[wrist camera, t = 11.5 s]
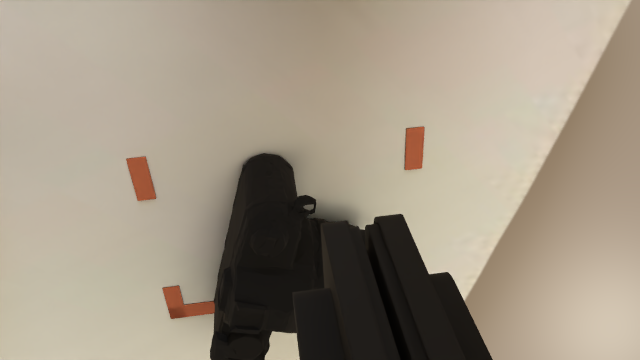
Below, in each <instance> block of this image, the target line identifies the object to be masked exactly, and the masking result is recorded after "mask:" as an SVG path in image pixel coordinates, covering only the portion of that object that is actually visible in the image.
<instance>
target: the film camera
mask: <svg viewBox="0 0 640 360" xmlns="http://www.w3.org/2000/svg"><path fill="white" fill-rule="evenodd" d="M310 204H314V209H313V210H311V211H309V210H306V209H304V208H303V206H304V205H310ZM315 208H316V199H314V198H312V197H310V196H307V195H304V196H299V197H298V198H297V192H296V186H295V179H294V172H293V169H292V167H291V165H290V164H289V163H288V162H287V161H286V160H284V159H283V158H282V157H280V156H277V155H270V154H261V155H257V156H255V157H253V158H251V159H250V160H249V161H248V162H247V163H246V164H245V165H243V168H242V172H241V175H240V178H239V182H238V187H237V192H236V196H235V200H234V204H233V210H232V215H231V219H230V224H229V229H228V233H227V237H226V241H225V249H224V252H223V256H222V260H221V265H220V269H219V273H218V281H217V287H216V293H215V298H214V304H215V312H214V335H213V339H212V345H211V349H210V358H211V360H265V355H266V353H267V352H268V350H269V347H270V344H269V338H270V335H271V333H272V331H275V332H285V333H297V331H296V322H295V313H294V304H293V294H292V292H300V291H307V290H315V289H322V288H324V273H323V257H322V241H321V224H322V223H330V222H326V221H325V220H324V219H318V218H313V219H308V218H307V217H306V216H307V215H309V214H312V213H315ZM349 227H355V226H353V225H350V224H349ZM360 232H361V235H362V238H363V241H364V245H365V230H360Z"/></svg>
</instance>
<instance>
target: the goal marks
mask: <svg viewBox="0 0 640 360" xmlns="http://www.w3.org/2000/svg"><path fill="white" fill-rule="evenodd" d="M423 143H424V127H417V128H407V129H406V153H405V170H411V169H420V168H422V160H423ZM126 160H127V164H128V168H129V171H130V175H131V178H132V182H133V185H134V189H135V192H136V196H137V200H138V201H140V200H149V199H156V195H155V191H154V187H153V183H152V180H151V176H150V172H149V168H148V164H147V160H146V157H139V158H130V159H126ZM163 292H164V296H165V299H166V303H167V306H168V310H169V313H170V317H171V319H174V318H181V317H189V316H197V315H204V314H212V313H214V312H215V304H214V301H211V302H203V303H195V304H188V305H184V304H183V300H182V296H181V292H180V288H179V286H174V287H166V288H163Z"/></svg>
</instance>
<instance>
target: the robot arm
mask: <svg viewBox="0 0 640 360" xmlns="http://www.w3.org/2000/svg"><path fill="white" fill-rule="evenodd" d="M321 241H322V257H323V273H324V288H322V289H315V290H307V291H300V292H292V294H293V304H294V313H295V322H296V331H297V340H298V348H299V357H300V360H493V359H492V358H491V356H490V353H489V351H488V349H487V347H486V345H485V343H484V341H483V339H482V337H481V335H480V333H479V331H478V329H477V327H476V325H475V323H474V320H473V318H472V317H471V315H470V312H469V310H468V308H467V306H466V304H465V302H464V300H463V298H462V296H461V294H460V292H459V290H458V288H457V286H456V284H455V281H454V280H453V278H452V276H451V275H450V274H449V273H448V272H445V273H437V274H428V271H427V269H426V267H425V265H424V262H423V260H422V258H421V255H420V253H419V251H418V249H417V246H416V244H415V242H414V239H413V237H412V235H411V233H410V230H409V228H408V226H407V223H406V221H405V219H404V217H403V215H402V214H396V215H388V216H380V217H375V218H374V224H372V225H366V227H365V245H364V241H363V238H362V235H361V232H360V229H359V227H358V226H356V227H349V223H348V221H338V222H330V223H322V224H321Z"/></svg>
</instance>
